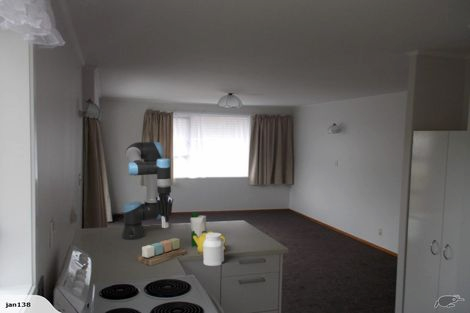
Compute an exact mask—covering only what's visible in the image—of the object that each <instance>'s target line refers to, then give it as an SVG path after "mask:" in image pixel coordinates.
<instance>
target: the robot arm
mask: <svg viewBox="0 0 470 313" xmlns="http://www.w3.org/2000/svg"><path fill="white" fill-rule="evenodd" d="M124 152H125V157H126V159H127V160H128V165H127V170H128V171H127V173H128V175H129V176H135V177H136V176H145V180H146V181H145V183H146V185H145V186H146V187H145V189H146V198H145V199H144V203H142V202H141V201H133V202H129V203H126V204H125V205H124V206H123V221H124V222H123V223H124V224H123V225H124V226H123V229H122V233H121V238H122V240H137V239H139V240H140V239H142V238H145V236H146V232H145V229H144V227H143V221H154V220H161V228H164V229H167V228H169V221H170V218H169V217H170V216H172V212H173V211H172V210H173V202H174V198H171V193H172V187H171V185H172V179H171V178H172V177H171V159H170V158H164V151H163V145H162V143H161V142H159V141H137V142H133V143H131V144H130V145H129V146H128V147H127V148H126V149H125V151H124Z"/></svg>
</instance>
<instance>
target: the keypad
mask: <svg viewBox="0 0 470 313" xmlns="http://www.w3.org/2000/svg"><path fill="white" fill-rule="evenodd" d="M186 253H187V254H188V251H187V249H185V248H181V247H180V248H177V249H174V250H173V249H172V250H171V251H168V252H163V253H161V254H158V255H155V254H154V256H151V257H148V258H147V257H144V256H142V253H141V254H138V255H135V261H136V262H137V263H142V264H143V265H146V266H149V267H153V266H156V265H159V264H162V263H164V262H168V261H171V260H173V258H174V259H176V258H175V257H177V256H180V255H183V254H186ZM187 254H186V255H187ZM183 256H184V255H183ZM180 257H181V256H180ZM177 258H178V257H177Z"/></svg>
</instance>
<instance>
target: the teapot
mask: <svg viewBox="0 0 470 313" xmlns="http://www.w3.org/2000/svg"><path fill="white" fill-rule="evenodd" d="M208 233H214V232H213V231H207V232H206V233H204V234H202V235H201V236H199V238H198V237H197V236H193V238H194V240H195V242H196V244H197V245H198V247H196V248H197V253H198V254H199V253H203V243H204V241H205V239H206V234H208ZM220 234H221V239H222V241H223V242H224V245H225V244H226V241H227V240H226V238H225V237H224V236H223V234H222V233H220ZM225 250H226V247H225V246H224V251H225Z"/></svg>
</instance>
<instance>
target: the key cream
mask: <svg viewBox="0 0 470 313" xmlns="http://www.w3.org/2000/svg"><path fill="white" fill-rule="evenodd" d="M141 254H142V256H144V257H147V258H148V257H151V256H154V246H151V244H147V245H145V246H144V245H143V246H141Z"/></svg>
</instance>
